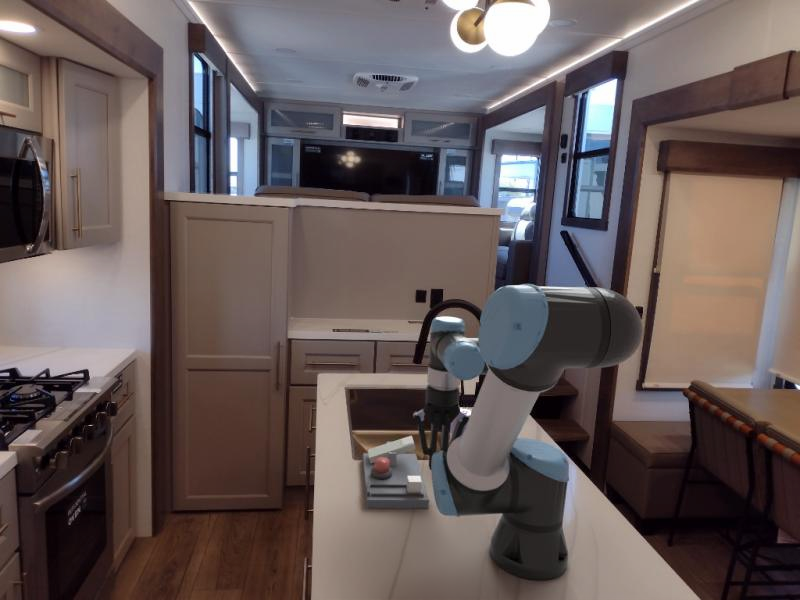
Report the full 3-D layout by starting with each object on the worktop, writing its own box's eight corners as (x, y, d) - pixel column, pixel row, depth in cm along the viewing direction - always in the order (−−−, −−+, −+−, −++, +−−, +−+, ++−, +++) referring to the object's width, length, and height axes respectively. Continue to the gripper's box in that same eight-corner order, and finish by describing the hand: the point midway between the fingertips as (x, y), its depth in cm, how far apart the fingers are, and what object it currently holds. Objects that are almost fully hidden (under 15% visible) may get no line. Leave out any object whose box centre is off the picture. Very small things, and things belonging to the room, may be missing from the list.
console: (428, 508, 131) (430, 485, 130) (366, 508, 130) (367, 485, 129) (415, 460, 155) (416, 441, 154) (362, 460, 153) (363, 440, 152)
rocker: (415, 449, 147) (413, 442, 147) (370, 463, 147) (368, 457, 147) (413, 440, 152) (411, 434, 152) (369, 454, 152) (367, 449, 151)
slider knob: (420, 494, 133) (421, 482, 133) (408, 494, 133) (408, 481, 133) (419, 487, 136) (420, 475, 136) (406, 487, 136) (407, 475, 135)
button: (389, 473, 140) (390, 463, 140) (374, 473, 140) (375, 463, 139) (388, 466, 144) (388, 457, 143) (373, 466, 143) (374, 457, 143)
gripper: (468, 380, 135) (460, 474, 139) (413, 378, 134) (406, 473, 138) (475, 391, 128) (466, 490, 132) (416, 389, 127) (409, 489, 131)
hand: (435, 481), depth 135 cm, fingers closed
